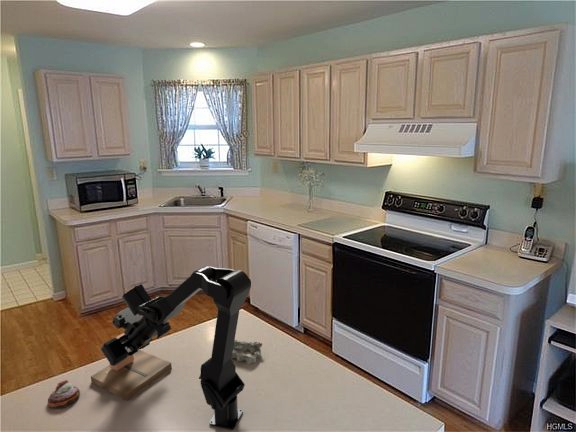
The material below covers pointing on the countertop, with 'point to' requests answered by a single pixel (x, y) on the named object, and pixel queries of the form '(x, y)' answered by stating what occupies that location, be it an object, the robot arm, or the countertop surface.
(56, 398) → the pastry
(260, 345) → the egg carton
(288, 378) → the countertop surface
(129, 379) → the fader track
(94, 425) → the countertop surface
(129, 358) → the handle
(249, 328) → the countertop surface
